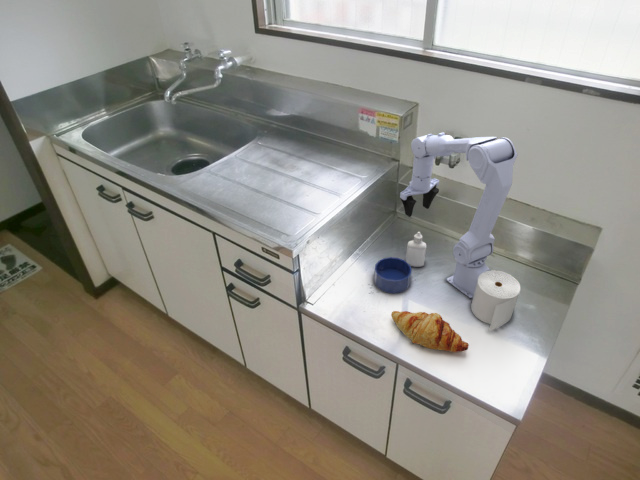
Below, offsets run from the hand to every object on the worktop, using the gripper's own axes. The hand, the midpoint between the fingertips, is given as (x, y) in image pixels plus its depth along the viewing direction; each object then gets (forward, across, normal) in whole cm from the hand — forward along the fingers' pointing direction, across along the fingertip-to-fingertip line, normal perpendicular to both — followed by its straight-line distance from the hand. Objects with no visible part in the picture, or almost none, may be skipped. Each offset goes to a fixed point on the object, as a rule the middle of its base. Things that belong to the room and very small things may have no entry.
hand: (417, 211), depth 145 cm
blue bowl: (+10, +20, +12) cm, 26 cm away
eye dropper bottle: (+11, +9, +10) cm, 17 cm away
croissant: (+11, +26, +33) cm, 43 cm away
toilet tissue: (+11, +6, +37) cm, 39 cm away
